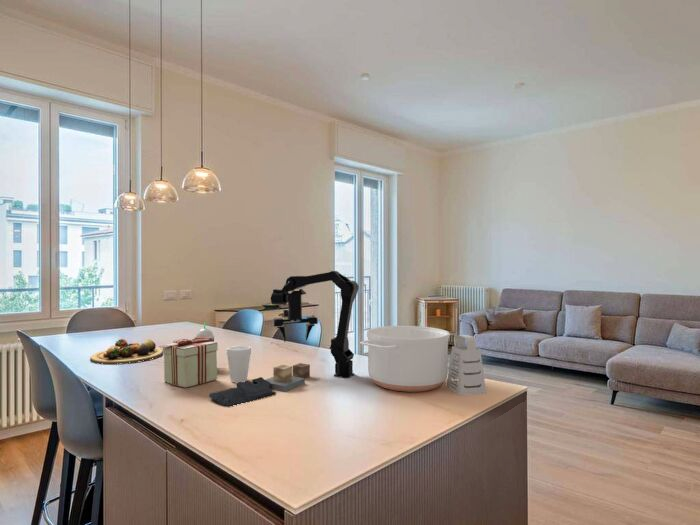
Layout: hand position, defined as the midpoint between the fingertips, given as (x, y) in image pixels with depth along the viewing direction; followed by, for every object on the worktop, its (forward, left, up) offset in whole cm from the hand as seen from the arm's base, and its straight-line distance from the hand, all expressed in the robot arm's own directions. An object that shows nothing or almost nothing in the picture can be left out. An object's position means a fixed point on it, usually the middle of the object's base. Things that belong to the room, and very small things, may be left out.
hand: (295, 341), depth 187 cm
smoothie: (+39, +15, -13) cm, 44 cm away
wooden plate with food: (+88, +20, -14) cm, 92 cm away
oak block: (-9, +19, -11) cm, 24 cm away
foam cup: (+10, +23, -13) cm, 29 cm away
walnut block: (-8, +6, -13) cm, 16 cm away
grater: (-71, -11, -13) cm, 73 cm away
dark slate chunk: (-5, +37, -14) cm, 40 cm away
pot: (-49, -8, -13) cm, 51 cm away
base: (-9, +19, -13) cm, 25 cm away
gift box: (+27, +34, -13) cm, 46 cm away
